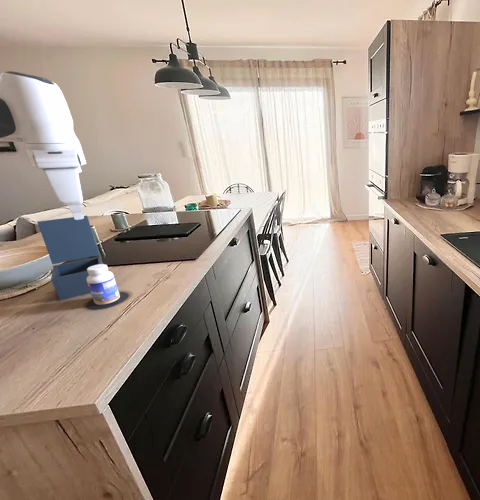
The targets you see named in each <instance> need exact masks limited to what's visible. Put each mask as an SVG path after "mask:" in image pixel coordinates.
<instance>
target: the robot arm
mask: <svg viewBox="0 0 480 500" xmlns="http://www.w3.org/2000/svg"><path fill="white" fill-rule="evenodd" d="M0 142H5V143H6V142H9V143H11V142H13V143H14V142H15V143H23V145H24V147H25V150H26V153H27V156H28V158H29V161H30V164H31V166H32V167H34V168H35V167H36V168H37V169H38V170H42V173H43V175H44V177H45V179H46V181H47V183H48V184H49V187H50V189H51V191H52V192H53V194H54V197H55V198H56V200H57V201H58V203H59V204H60V206H63V207H64V206H67V207H68V209H69V210H70V213H71V214H72V217H74V219H75V220H80V219H84V216H85V214H84V211H83V208H82V205H83V203H84V197H83V190H82V185H81V181H80V173H82V172H83V170H82V166H86V165H87V160H86V157H85V153H84V151H83V148H82V144H81V142H80V139H79V138H78V137H77V135H76V133H75V129H74V120H73V117H72V114H71V110H70V108H69V104H68V102H67V100H66V98H65V96H64V94H63V92H62V90H61V89H60V87H59V86H58V84H56V82H54V81H52V80H51V79H48V78H46V77H42V76H38V75H32V74H29V73H24V72H18V71H13V70H12V71H10V70H9V71H8V70H7V71H3V72H1V73H0Z"/></svg>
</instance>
